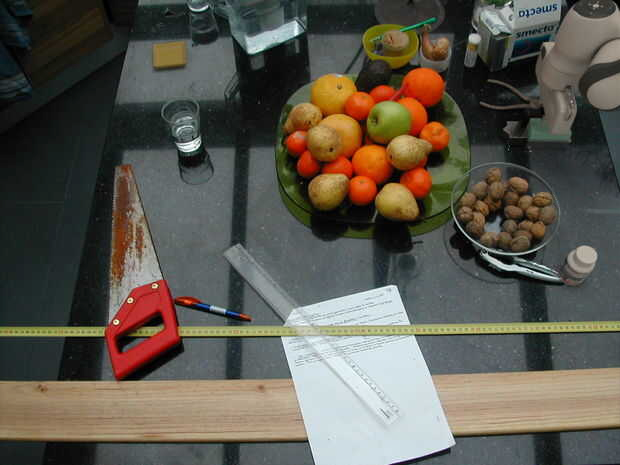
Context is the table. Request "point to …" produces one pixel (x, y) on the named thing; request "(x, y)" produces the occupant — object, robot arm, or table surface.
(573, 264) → the pill bottle
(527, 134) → the iron
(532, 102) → the pliers
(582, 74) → the robot arm
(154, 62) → the yellow kitchen sponge
